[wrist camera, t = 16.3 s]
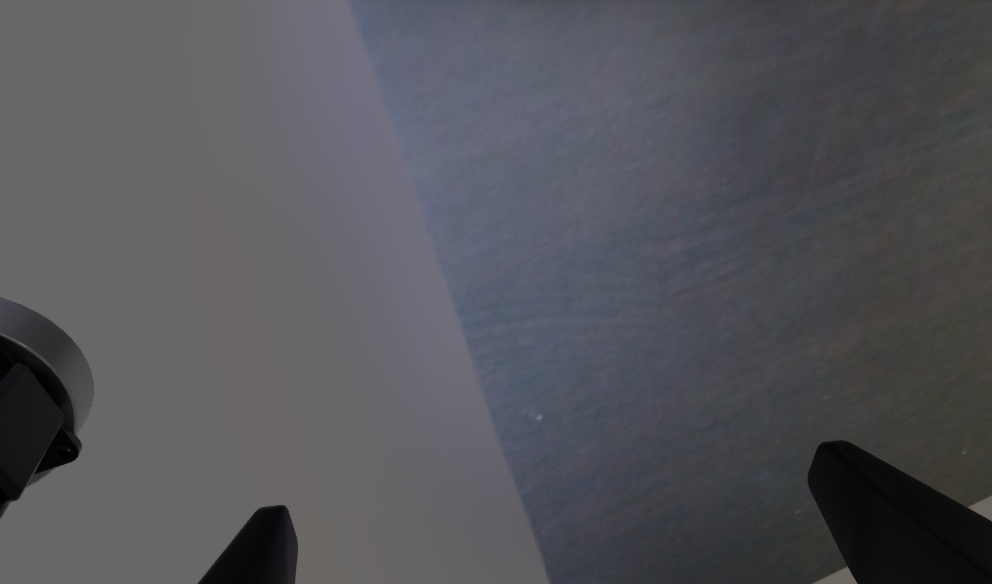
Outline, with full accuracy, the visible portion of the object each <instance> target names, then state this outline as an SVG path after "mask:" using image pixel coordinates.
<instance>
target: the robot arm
mask: <svg viewBox="0 0 992 584" xmlns="http://www.w3.org/2000/svg"><path fill="white" fill-rule="evenodd" d="M64 419H65V416H64V414H63V413H62V412H61V410H60V409H59V408H58V406H57V405H56V404H55V402H54V401H53V400H52V398H51V397H50V396H49V394H48V393H47V392H46V390H45V389H44V388H43V386H42V385H41V384H40V382H39V381H38V380H37V378H36V377H35V376H34V375H33V373H32V372H31V371H30V369H29V368H28V367H27V366H25V365H23V364H21V363H20V361H19V360H18V359H17V357H16V356H15V355H14V353H13V352H12V351H11V349H10V348H9V347H8V345H7V344H6V343H5V342H4V340H3V339H2V338H1V336H0V519H1V517H2V516H3V514H4V512H5V511H6V509H7V507H8V506H9V504H10V502H13V501H16V500H18V499H19V498H20V497H21V495H22V493H23V492H24V490H25V488H26V486H27V485H28V483H29V481H30V479H31V478H32V476H33V475H35V474H38V473H41V472H44V471H47V470H49V469H52V468H55V467H58V466H61V465H64V464H67V463H70V462H72V461H74V460H76V458H77V457H78V455H79V454H80V452H81V450H82V444H81V441H80V440H79V439H78V438H77V436H76V435H75V434H74V432H73V431H72V430H71V428H70V427H69V426H68V424H67V423H66V422H65V420H64ZM60 448H68V449H69V450H70V451H67V452H66V451H62V450H61V449H60ZM808 485H809V488H810V491H811V493H812V495H813V497H814V499H815V501H816V503H817V505H818V507H819V509H820V511H821V513H822V515H823V517H824V519H825V521H826V523H827V525H828V527H829V529H830V531H831V533H832V535H833V538H834V540H835V542H836V544H837V546H838V548H839V550H840V552H841V554H842V556H843V558H844V560H845V562H846V564H847V566H848V568H849V569H850V571H851V573H852V575H853V576H854V578H855V580H856V582H857V584H992V521H990V520H988V519H987V518H985V517H983V516H981V515H979V514H978V513H976V512H974V511H972V510H971V509H969V508H967V507H965V506H963V505H962V504H960V503H958V502H956V501H954V500H953V499H951V498H949V497H947V496H945V495H944V494H942V493H940V492H938V491H936V490H935V489H933V488H931V487H929V486H927V485H926V484H924V483H922V482H920V481H918V480H917V479H915V478H913V477H911V476H909V475H908V474H906V473H904V472H902V471H900V470H899V469H897V468H895V467H893V466H891V465H890V464H888V463H886V462H884V461H882V460H881V459H879V458H877V457H875V456H874V455H872V454H870V453H868V452H866V451H865V450H863V449H861V448H859V447H857V446H856V445H854V444H852V443H850V442H848V441H844V440H838V441H829V442H823V443H821V444H820V445H819V446H818V448H817V450H816V453H815V456H814V459H813V461H812V464H811V467H810V470H809V473H808ZM297 554H298V543H297V537H296V534H295V530H294V527H293V524H292V520H291V517H290V514H289V511H288V509H287V507H286V506H284V505H278V506H269V507H262V508H260V509H258V510H257V511H256V512H255V513H254V514H253V515H252V517H251V518H250V519H249V520H248V521H247V523H246V524H245V525H244V526H243V528H242V529H241V530H240V531H239V533H238V534H237V535H236V536H235V538H234V539H233V540H232V542H231V543H230V544H229V545H228V547H227V548H226V549H225V550H224V552H223V553H222V554H221V555H220V556H219V558H218V559H217V560H216V561H215V563H214V564H213V565H212V566H211V568H210V569H209V570H208V572H207V573H206V574H205V575H204V576H203V578H202V579H201V580H200V581H199V583H198V584H295V575H296V564H297Z"/></svg>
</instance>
